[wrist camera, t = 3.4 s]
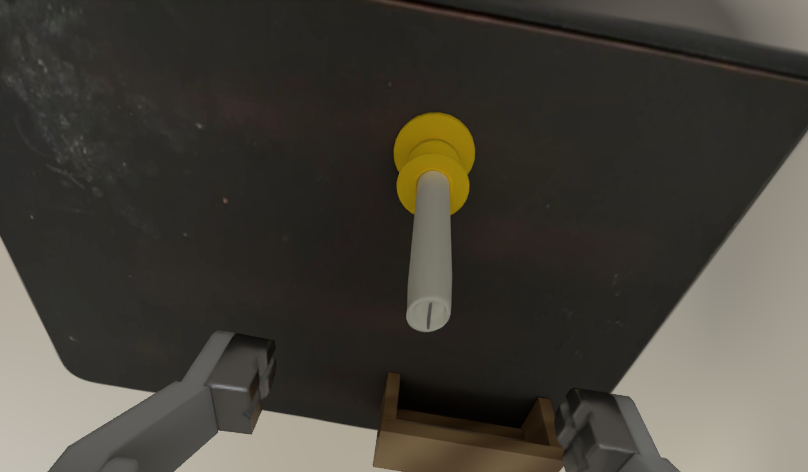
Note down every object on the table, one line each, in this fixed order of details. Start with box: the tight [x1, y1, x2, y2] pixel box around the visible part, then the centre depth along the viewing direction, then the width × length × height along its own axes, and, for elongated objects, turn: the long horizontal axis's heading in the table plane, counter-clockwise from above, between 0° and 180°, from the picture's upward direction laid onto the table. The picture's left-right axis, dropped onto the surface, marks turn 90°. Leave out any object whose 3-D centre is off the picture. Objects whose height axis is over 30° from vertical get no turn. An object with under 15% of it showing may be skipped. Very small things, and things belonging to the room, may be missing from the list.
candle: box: [394, 112, 475, 332], centre depth 19 cm, size 5×5×16 cm
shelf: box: [373, 372, 564, 472], centre depth 37 cm, size 16×6×6 cm, turn 81°
